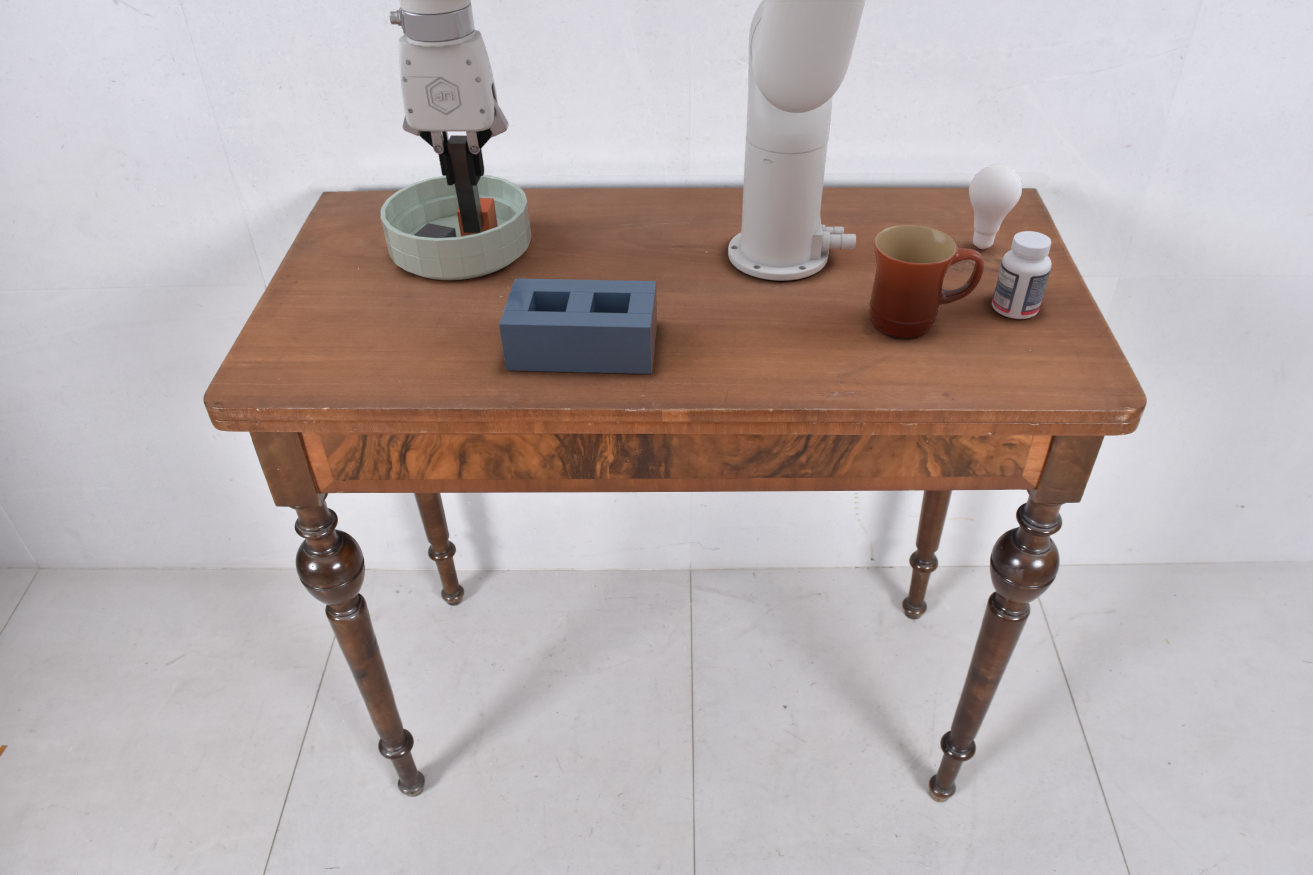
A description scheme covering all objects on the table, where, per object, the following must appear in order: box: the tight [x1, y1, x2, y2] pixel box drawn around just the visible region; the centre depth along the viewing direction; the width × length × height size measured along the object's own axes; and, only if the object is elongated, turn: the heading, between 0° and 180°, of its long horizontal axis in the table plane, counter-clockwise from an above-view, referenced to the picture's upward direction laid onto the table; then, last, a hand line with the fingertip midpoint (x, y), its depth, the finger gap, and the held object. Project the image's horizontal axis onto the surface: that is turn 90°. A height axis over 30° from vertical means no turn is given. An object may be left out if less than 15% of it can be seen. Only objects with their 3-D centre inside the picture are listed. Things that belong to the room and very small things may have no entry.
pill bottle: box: [991, 230, 1052, 320], centre depth 105 cm, size 5×5×9 cm
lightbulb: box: [968, 163, 1023, 250], centre depth 115 cm, size 6×6×11 cm
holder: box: [498, 277, 658, 375], centre depth 101 cm, size 9×16×6 cm, turn 86°
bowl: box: [380, 174, 532, 281], centre depth 119 cm, size 18×18×6 cm
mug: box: [869, 224, 985, 339], centre depth 102 cm, size 12×9×10 cm
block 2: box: [457, 198, 498, 237], centre depth 121 cm, size 4×4×4 cm
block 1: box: [414, 223, 457, 238], centre depth 115 cm, size 4×4×4 cm
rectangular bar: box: [447, 134, 484, 233], centre depth 114 cm, size 2×2×12 cm
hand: (464, 179), depth 113 cm, fingers closed on rectangular bar, 2 cm apart
